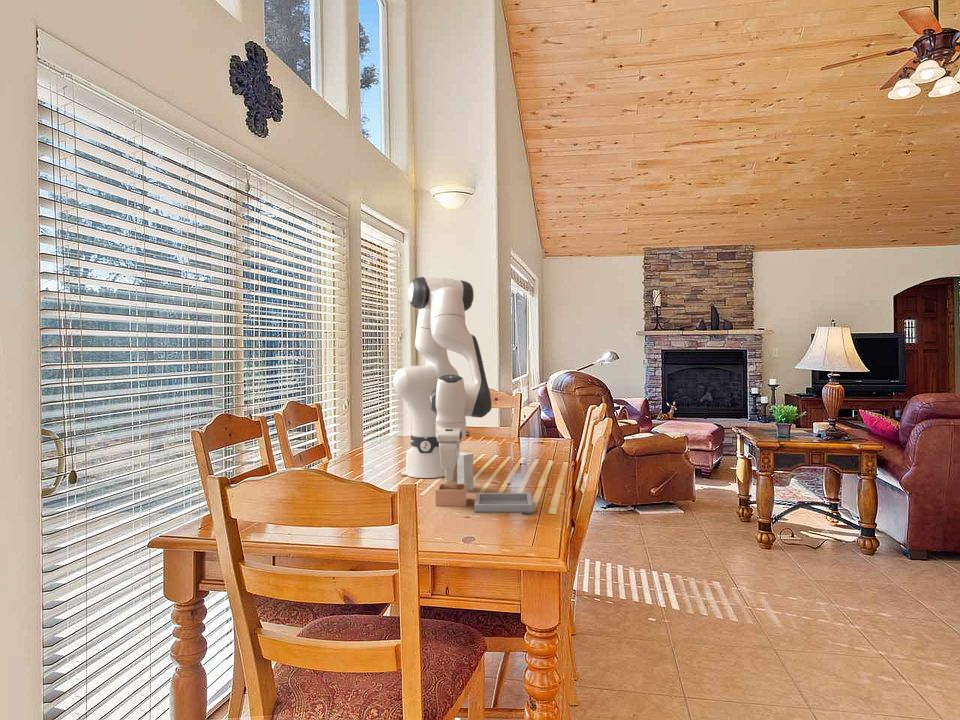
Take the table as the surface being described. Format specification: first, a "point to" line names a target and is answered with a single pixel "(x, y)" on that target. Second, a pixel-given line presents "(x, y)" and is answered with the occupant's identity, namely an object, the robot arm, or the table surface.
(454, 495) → the terracotta open box
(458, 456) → the robot arm
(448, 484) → the translucent grey tall block
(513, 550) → the table surface
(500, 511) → the slate tray
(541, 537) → the table surface
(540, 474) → the table surface
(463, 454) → the skincare box
